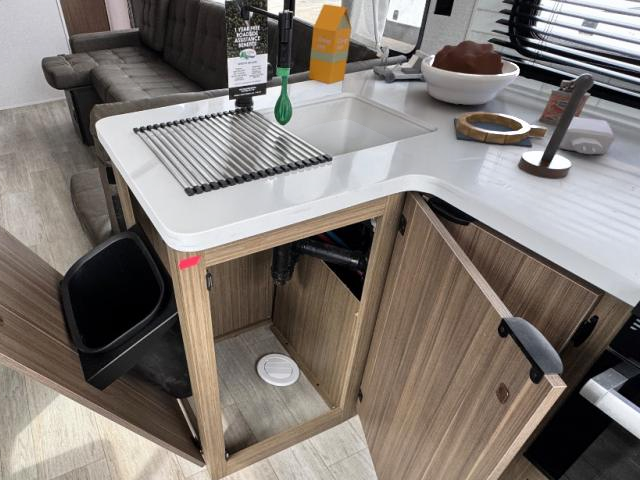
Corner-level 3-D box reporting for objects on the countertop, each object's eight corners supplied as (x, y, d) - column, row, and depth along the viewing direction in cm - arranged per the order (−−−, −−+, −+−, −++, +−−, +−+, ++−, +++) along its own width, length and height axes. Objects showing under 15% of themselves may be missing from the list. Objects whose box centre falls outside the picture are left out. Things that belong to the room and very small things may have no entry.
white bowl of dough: (456, 84, 137) (473, 29, 127) (526, 107, 120) (551, 45, 110) (394, 94, 129) (407, 36, 119) (459, 120, 112) (481, 54, 102)
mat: (521, 126, 109) (522, 124, 108) (531, 147, 99) (532, 145, 98) (453, 120, 112) (454, 118, 112) (456, 139, 102) (457, 137, 102)
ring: (536, 125, 108) (540, 117, 107) (549, 148, 97) (554, 139, 96) (454, 117, 112) (457, 109, 111) (457, 138, 101) (460, 129, 100)
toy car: (383, 48, 131) (370, 40, 140) (377, 83, 138) (364, 74, 147) (439, 47, 133) (423, 39, 142) (430, 81, 140) (415, 72, 148)
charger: (558, 158, 94) (554, 135, 104) (608, 166, 91) (598, 141, 101) (569, 136, 91) (563, 115, 101) (622, 144, 88) (610, 121, 98)
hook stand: (561, 163, 92) (608, 70, 80) (571, 181, 86) (625, 82, 74) (515, 157, 94) (554, 66, 82) (521, 175, 88) (565, 78, 76)
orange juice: (323, 74, 146) (331, 3, 133) (344, 79, 141) (355, 6, 128) (308, 78, 142) (315, 5, 129) (329, 84, 137) (338, 8, 124)
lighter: (538, 121, 112) (556, 79, 105) (539, 118, 114) (558, 76, 107) (574, 128, 108) (595, 84, 101) (575, 124, 110) (596, 81, 104)
